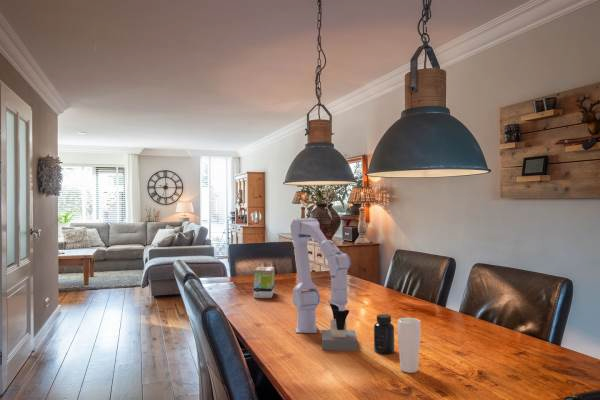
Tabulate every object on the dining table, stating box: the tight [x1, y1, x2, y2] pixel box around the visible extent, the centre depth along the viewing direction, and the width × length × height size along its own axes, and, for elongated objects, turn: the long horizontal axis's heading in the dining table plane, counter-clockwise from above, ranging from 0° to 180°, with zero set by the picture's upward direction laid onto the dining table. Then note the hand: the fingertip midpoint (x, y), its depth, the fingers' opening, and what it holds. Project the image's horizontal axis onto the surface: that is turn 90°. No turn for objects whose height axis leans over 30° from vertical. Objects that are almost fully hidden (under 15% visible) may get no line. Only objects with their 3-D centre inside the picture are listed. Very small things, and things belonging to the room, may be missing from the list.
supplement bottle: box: [373, 313, 395, 355], centre depth 151 cm, size 7×7×12 cm
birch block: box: [330, 318, 347, 337], centre depth 157 cm, size 5×5×5 cm
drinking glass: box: [397, 317, 422, 374], centre depth 134 cm, size 7×7×15 cm
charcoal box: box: [321, 329, 358, 352], centre depth 157 cm, size 12×12×4 cm
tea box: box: [253, 266, 276, 299], centre depth 242 cm, size 15×10×15 cm, turn 179°
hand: (338, 326), depth 157 cm, fingers open, 7 cm apart
